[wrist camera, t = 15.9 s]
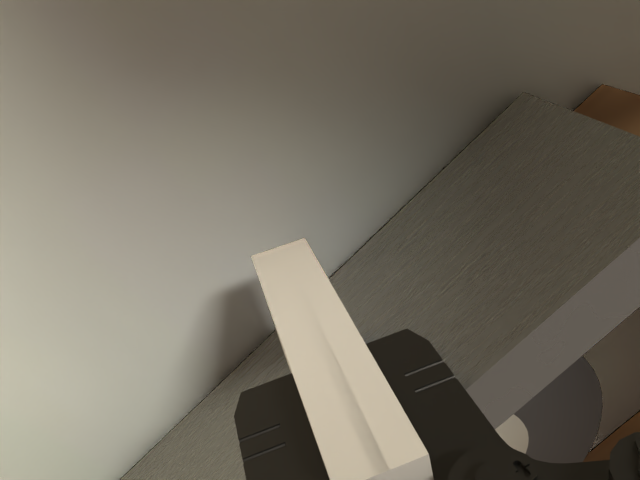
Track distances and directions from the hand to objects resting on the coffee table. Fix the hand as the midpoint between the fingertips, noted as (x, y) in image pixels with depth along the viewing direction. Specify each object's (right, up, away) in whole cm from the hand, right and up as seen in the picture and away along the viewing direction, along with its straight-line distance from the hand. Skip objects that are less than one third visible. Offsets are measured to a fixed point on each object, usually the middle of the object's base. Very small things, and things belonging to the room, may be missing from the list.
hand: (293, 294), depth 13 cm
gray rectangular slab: (0, -2, +3) cm, 3 cm away
